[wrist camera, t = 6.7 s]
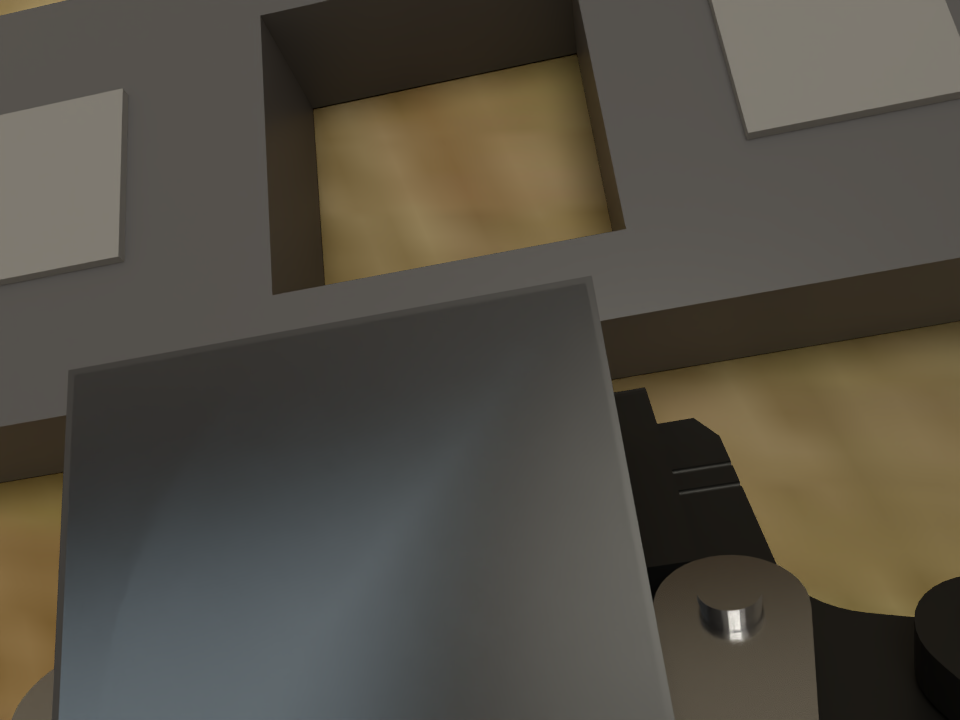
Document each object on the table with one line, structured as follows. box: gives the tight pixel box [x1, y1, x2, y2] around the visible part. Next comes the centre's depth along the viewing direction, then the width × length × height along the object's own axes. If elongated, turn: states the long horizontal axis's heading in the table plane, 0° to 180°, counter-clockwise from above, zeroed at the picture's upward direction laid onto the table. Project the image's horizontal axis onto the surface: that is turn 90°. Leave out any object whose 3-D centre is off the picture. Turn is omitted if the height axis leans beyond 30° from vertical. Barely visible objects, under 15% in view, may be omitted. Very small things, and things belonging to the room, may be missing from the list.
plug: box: [52, 276, 675, 720], centre depth 11 cm, size 4×4×10 cm
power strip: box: [0, 0, 960, 483], centre depth 17 cm, size 28×9×4 cm, turn 97°
